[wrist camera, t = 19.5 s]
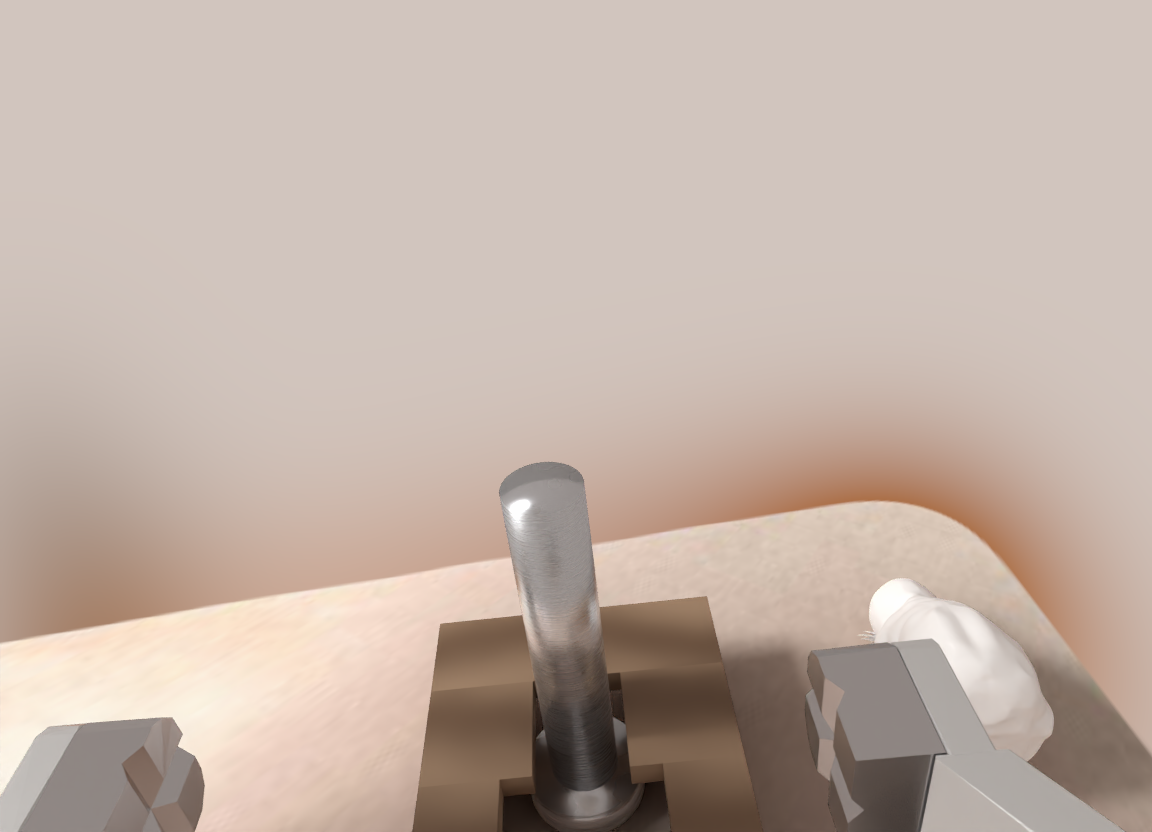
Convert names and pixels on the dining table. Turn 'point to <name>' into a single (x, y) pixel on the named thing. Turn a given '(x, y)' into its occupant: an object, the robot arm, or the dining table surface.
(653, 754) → the keyhole board
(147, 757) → the robot arm
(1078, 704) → the dining table surface
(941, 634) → the white lumpy figurine
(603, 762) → the steel peg
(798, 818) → the dining table surface
